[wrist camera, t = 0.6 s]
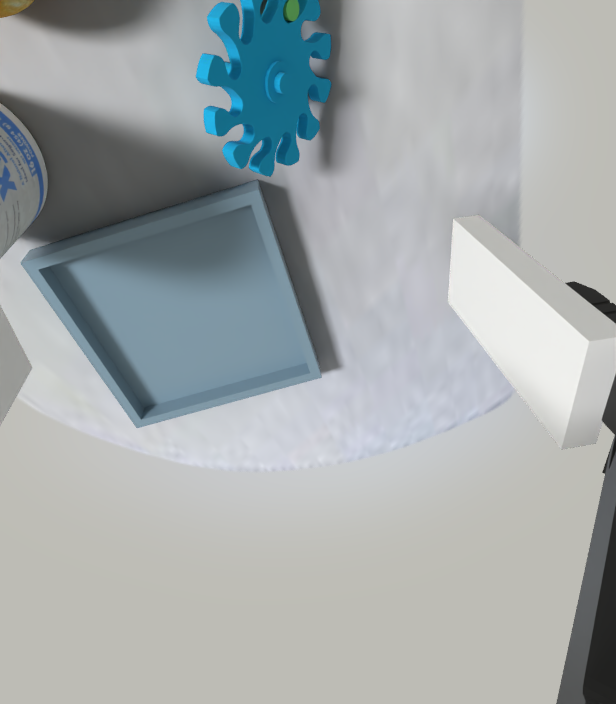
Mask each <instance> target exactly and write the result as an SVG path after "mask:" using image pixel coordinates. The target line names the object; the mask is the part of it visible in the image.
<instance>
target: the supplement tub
mask: <svg viewBox="0 0 616 704" xmlns="http://www.w3.org/2000/svg"><path fill="white" fill-rule="evenodd" d="M47 189H48V178H47V170H46V166H45V162H44V159H43V156H42V154H41V151H40V149H39V147H38V145H37V143H36V142H35V140H34V138H33V137H32V135H31V134H30V133H29V131H28V130H27V128H26V127H25V126H24V125H23V124H22V122H21V121H20V120H19V119H18V118H17V117H16V116H15V115H14V114H13V113H12V112H11V111H9V110H8V109H7V108H6V107H5V106H3V105H2V104H1V103H0V258H1V257H2V256H3V255H4V254H5V253H6V252H7V251H8V249H9V248H10V247H11V246H12V245H13V244H14V243H15V242H16V240H17V239H18V238H19V237H20V236H21V235H22V234H23V233H24V232H25V230H26V229H27V228H28V227H29V226H30V225H31V224H32V222H33V221H34V220H35V219H36V218H37V217H38V215H39V214H40V212H41V210H42V208H43V206H44V203H45V200H46V196H47Z"/></svg>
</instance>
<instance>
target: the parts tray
mask: <svg viewBox="0 0 616 704" xmlns="http://www.w3.org/2000/svg"><path fill="white" fill-rule="evenodd" d="M21 265H22V266H23V267H24V269H25V270H26V272H27V273H28V274H29V276H30V277H31V279H32V280H33V282H34V283H35V284H36V286H37V287H38V289H39V290H40V291H41V293H42V294H43V296H44V297H45V299H46V300H47V301H48V303H49V304H50V306H51V307H52V309H53V310H54V311H55V313H56V314H57V316H58V317H59V318H60V320H61V321H62V323H63V324H64V326H65V327H66V328H67V330H68V331H69V333H70V334H71V335H72V337H73V338H74V340H75V341H76V343H77V344H78V345H79V347H80V348H81V350H82V351H83V352H84V354H85V355H86V357H87V358H88V360H89V361H90V362H91V364H92V365H93V367H94V368H95V369H96V371H97V372H98V374H99V375H100V377H101V378H102V379H103V381H104V382H105V384H106V385H107V387H108V388H109V389H110V391H111V392H112V394H113V395H114V396H115V398H116V399H117V401H118V402H119V404H120V405H121V406H122V408H123V409H124V411H125V412H126V413H127V415H128V416H129V418H130V419H131V421H132V422H133V423H134V425H135V426H136V428H139V427H143V426H147V425H150V424H154V423H158V422H161V421H165V420H169V419H172V418H176V417H179V416H183V415H187V414H190V413H194V412H198V411H201V410H205V409H209V408H212V407H216V406H220V405H223V404H227V403H230V402H234V401H238V400H241V399H245V398H249V397H252V396H256V395H260V394H263V393H267V392H271V391H274V390H278V389H282V388H285V387H289V386H292V385H296V384H300V383H303V382H307V381H311V380H314V379H318V378H322V376H321V371H320V366H319V362H318V359H317V356H316V353H315V350H314V347H313V344H312V341H311V338H310V335H309V332H308V329H307V326H306V323H305V320H304V317H303V314H302V311H301V308H300V305H299V302H298V299H297V296H296V293H295V290H294V287H293V284H292V281H291V278H290V275H289V272H288V269H287V266H286V263H285V260H284V257H283V254H282V251H281V248H280V245H279V242H278V239H277V236H276V233H275V230H274V227H273V224H272V221H271V218H270V215H269V212H268V209H267V206H266V203H265V200H264V197H263V194H262V191H261V188H260V185H259V182H258V180H254V181H251V182H248V183H245V184H242V185H238V186H235V187H232V188H229V189H225V190H222V191H219V192H216V193H213V194H209V195H206V196H203V197H200V198H196V199H193V200H190V201H187V202H184V203H180V204H177V205H174V206H171V207H167V208H164V209H161V210H158V211H155V212H151V213H148V214H145V215H142V216H138V217H135V218H132V219H129V220H125V221H122V222H119V223H116V224H113V225H109V226H106V227H103V228H100V229H96V230H93V231H90V232H87V233H84V234H80V235H77V236H74V237H71V238H67V239H64V240H61V241H58V242H55V243H51V244H48V245H45V246H42V247H38V248H35V249H32V250H30V251H29V252H28V254H27V255H26V256H25V258H24V259H23V260H22V262H21Z"/></svg>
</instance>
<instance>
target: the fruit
mask: <svg viewBox="0 0 616 704" xmlns="http://www.w3.org/2000/svg"><path fill="white" fill-rule="evenodd" d="M34 1H35V0H0V18H3V17H7V16H11V15H14V14H17V13H19V12H21V11H22V10H24V9H26V8H27V7H28V6H29V5H31V4H32V3H33V2H34Z"/></svg>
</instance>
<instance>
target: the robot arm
mask: <svg viewBox="0 0 616 704" xmlns="http://www.w3.org/2000/svg"><path fill="white" fill-rule="evenodd" d="M448 303H449V304H450V305H451V307H452V308H453V309H454V310H455V312H456V313H457V314H458V316H459V317H460V318H461V320H462V321H463V322H464V323H465V325H466V326H467V327H468V329H469V330H470V331H471V333H472V334H473V335H474V337H475V338H476V339H477V340H478V342H479V343H480V344H481V346H482V347H483V348H484V350H485V351H486V352H487V353H488V355H489V356H490V357H491V359H492V360H493V361H494V363H495V364H496V365H497V367H498V368H499V369H500V370H501V372H502V373H503V374H504V376H505V377H506V378H507V380H508V381H509V382H510V383H511V385H512V386H513V387H514V389H515V390H516V391H517V393H518V394H519V395H520V397H521V398H522V399H523V400H524V402H525V403H526V404H527V406H528V407H529V408H530V410H531V411H532V412H533V413H534V414H535V416H536V417H537V419H538V420H539V421H540V422H541V424H542V425H543V426H544V428H545V429H546V430H547V432H548V433H549V434H550V436H551V437H552V438H553V440H554V441H555V442H556V443H557V445H558V446H559V447H560V449H562V450H563V449H568V448H574V447H580V446H585V445H591V444H596V442H597V438H598V435H599V432H600V429H601V426H602V423H603V422H604V423H605V425H606V426H607V427H608V428H609V429H610V430H611V431H612V432H613V433H614V434H615V437H614V440H613V443H612V446H611V449H610V452H609V455H608V458H607V460H606V464H605V467H604V470H603V473H605V478H604V482H603V487H602V492H601V496H600V501H599V506H598V511H597V515H596V520H595V525H594V529H593V534H592V539H591V543H590V548H589V553H588V558H587V562H586V567H585V572H584V576H583V581H582V586H581V591H580V595H579V600H578V605H577V609H576V614H575V619H574V624H573V628H572V633H571V638H570V642H569V647H568V652H567V657H566V661H565V666H564V671H563V675H562V680H561V685H560V689H559V694H558V699H557V703H556V704H616V305H615V304H613V303H610V301H609V300H608V299H607V298H605V297H604V296H603V295H601V294H600V293H599V292H597V291H596V290H594V289H592V288H589V287H587V286H584V285H582V284H579V283H577V282H569V283H564V282H563V281H561V280H560V279H559V278H558V277H556V276H555V275H554V274H553V273H551V272H550V271H549V270H548V269H546V268H545V267H544V266H543V265H541V264H540V263H539V262H537V261H536V260H535V259H534V258H533V257H531V256H530V255H529V254H527V253H526V252H525V251H524V250H523V249H521V248H520V247H519V246H518V245H516V244H515V243H514V242H513V241H511V240H510V239H509V238H508V237H506V236H505V235H504V234H502V233H501V232H500V231H499V230H497V229H496V228H495V227H494V226H492V225H491V224H490V223H489V222H487V221H486V220H485V219H484V218H482V217H481V216H480V215H474V216H467V217H461V218H454V219H453V231H452V247H451V263H450V278H449V294H448ZM31 369H32V366H31V364H30V362H29V360H28V358H27V356H26V354H25V352H24V350H23V348H22V346H21V345H20V343H19V341H18V339H17V337H16V335H15V333H14V331H13V329H12V327H11V325H10V323H9V321H8V319H7V317H6V315H5V313H4V312H3V310H2V308H1V306H0V425H1V423H2V421H3V420H4V418H5V416H6V414H7V413H8V411H9V409H10V407H11V405H12V403H13V402H14V400H15V398H16V396H17V394H18V393H19V391H20V389H21V387H22V385H23V384H24V382H25V380H26V378H27V376H28V375H29V373H30V371H31Z"/></svg>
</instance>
